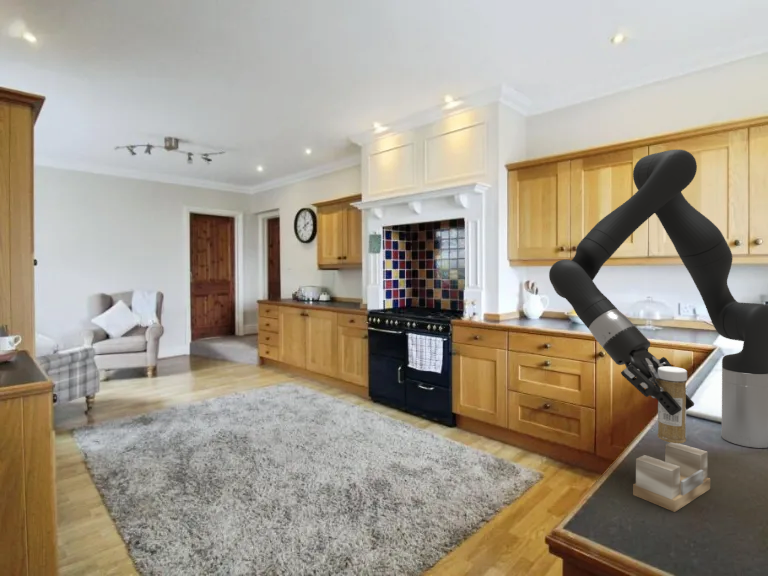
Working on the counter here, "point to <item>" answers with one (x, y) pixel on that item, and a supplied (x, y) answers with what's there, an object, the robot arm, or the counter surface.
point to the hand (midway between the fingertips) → (683, 409)
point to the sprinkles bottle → (675, 385)
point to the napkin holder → (672, 477)
